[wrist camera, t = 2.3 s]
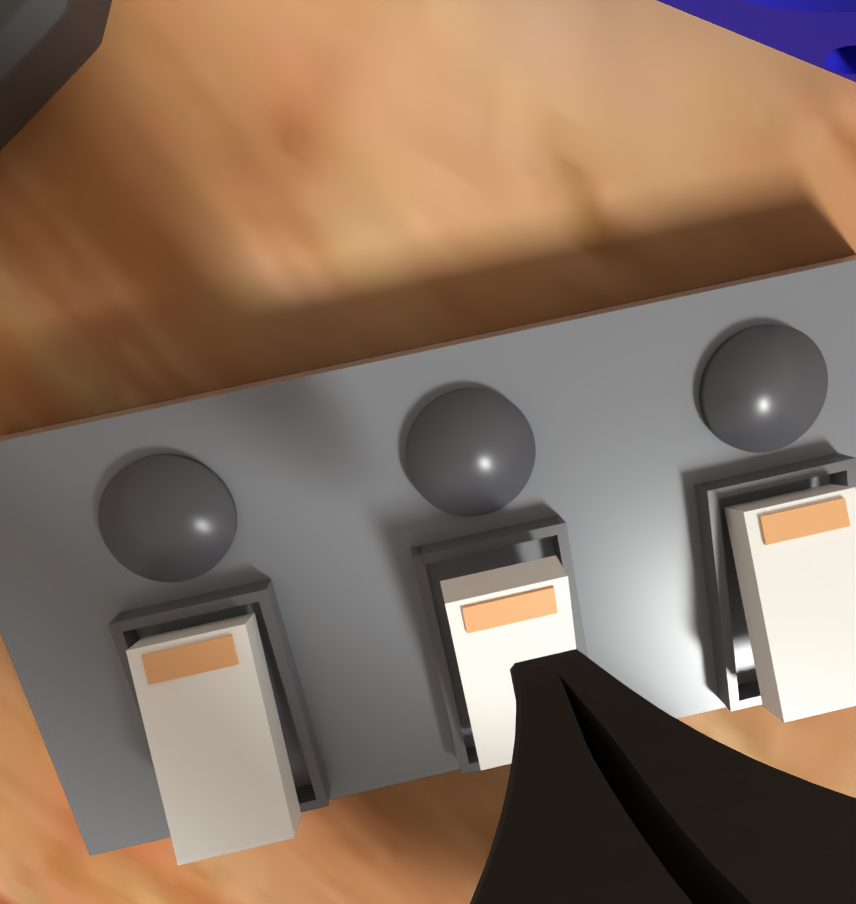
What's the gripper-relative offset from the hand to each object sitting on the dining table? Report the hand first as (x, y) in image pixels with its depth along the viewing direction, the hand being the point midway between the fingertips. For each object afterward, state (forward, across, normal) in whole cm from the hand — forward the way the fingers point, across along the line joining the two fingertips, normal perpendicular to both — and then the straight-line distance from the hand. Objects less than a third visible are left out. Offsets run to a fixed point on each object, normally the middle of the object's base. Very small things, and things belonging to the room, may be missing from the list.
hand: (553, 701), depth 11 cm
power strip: (+9, -4, 0) cm, 10 cm away
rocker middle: (+5, 0, +2) cm, 6 cm away
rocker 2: (+5, -8, +2) cm, 10 cm away
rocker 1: (+5, +8, +2) cm, 10 cm away
